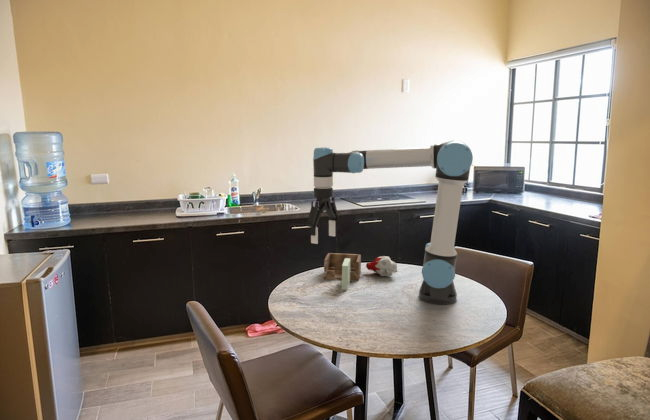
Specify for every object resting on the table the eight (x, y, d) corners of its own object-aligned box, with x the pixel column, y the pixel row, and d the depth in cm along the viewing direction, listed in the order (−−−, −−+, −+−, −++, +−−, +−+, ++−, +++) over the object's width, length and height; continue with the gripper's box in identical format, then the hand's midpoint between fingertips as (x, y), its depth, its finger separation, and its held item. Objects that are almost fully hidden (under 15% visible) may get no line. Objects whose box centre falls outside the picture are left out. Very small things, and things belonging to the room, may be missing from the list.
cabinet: (360, 272, 216) (360, 254, 214) (358, 281, 203) (358, 262, 202) (328, 270, 218) (328, 252, 217) (323, 279, 206) (323, 261, 204)
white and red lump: (397, 277, 207) (365, 279, 209) (398, 270, 218) (367, 272, 220) (396, 259, 205) (363, 261, 208) (396, 252, 216) (365, 254, 219)
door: (344, 281, 204) (344, 258, 202) (350, 281, 204) (350, 258, 201) (341, 289, 193) (342, 265, 191) (347, 290, 193) (347, 265, 191)
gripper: (331, 183, 188) (331, 232, 192) (297, 190, 167) (298, 245, 171) (346, 184, 184) (346, 234, 188) (314, 191, 163) (314, 248, 167)
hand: (323, 239), depth 179 cm, fingers open, 13 cm apart
